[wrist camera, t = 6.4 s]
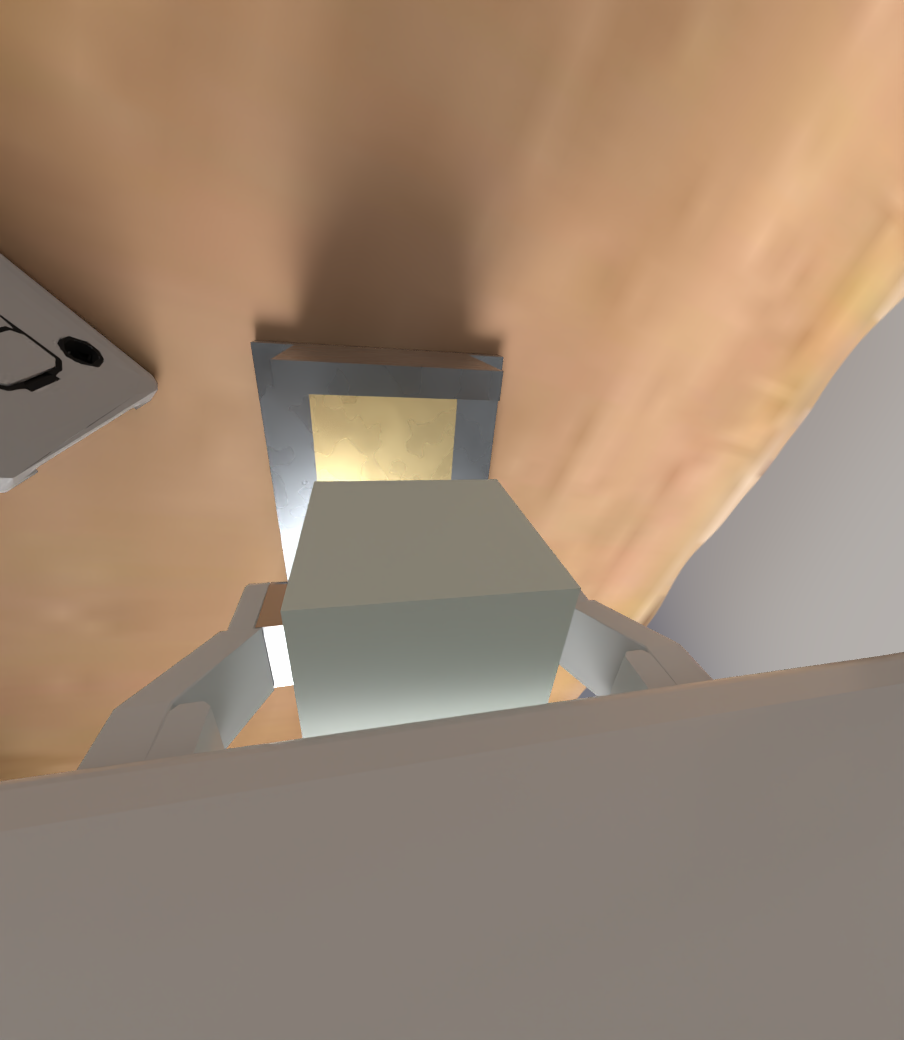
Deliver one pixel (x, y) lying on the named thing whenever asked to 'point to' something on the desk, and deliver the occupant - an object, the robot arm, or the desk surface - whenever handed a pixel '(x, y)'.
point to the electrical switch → (55, 377)
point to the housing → (420, 605)
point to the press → (370, 418)
